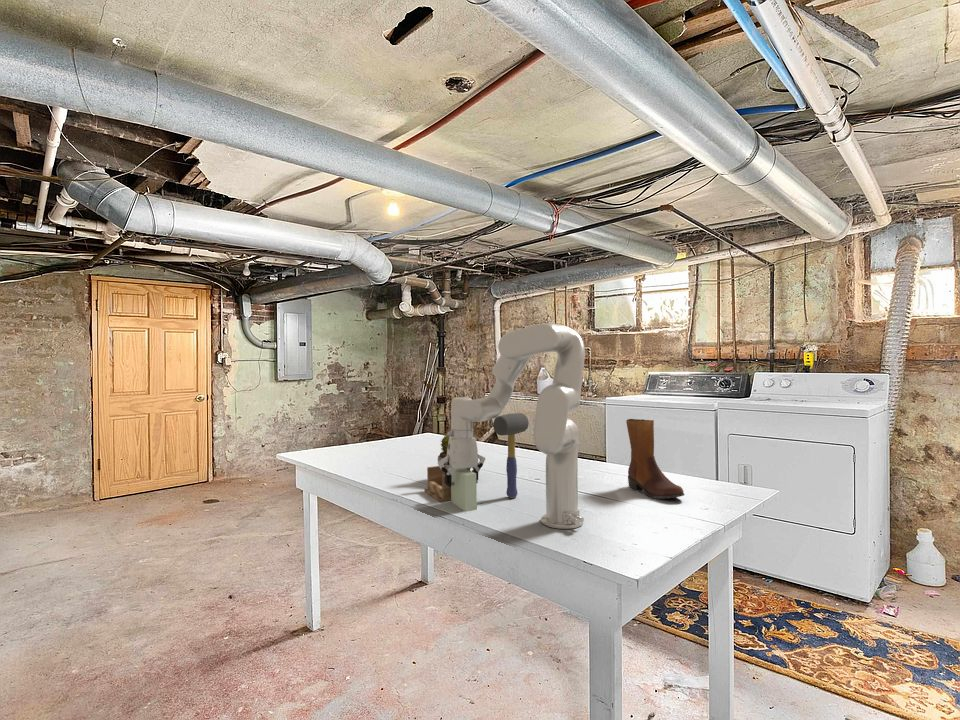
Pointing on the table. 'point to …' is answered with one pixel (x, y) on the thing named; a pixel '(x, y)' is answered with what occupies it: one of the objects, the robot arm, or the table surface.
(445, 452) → the flowerpot
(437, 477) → the wooden holder
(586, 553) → the table surface
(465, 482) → the door panel
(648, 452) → the boot
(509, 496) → the rubber mallet
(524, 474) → the table surface
